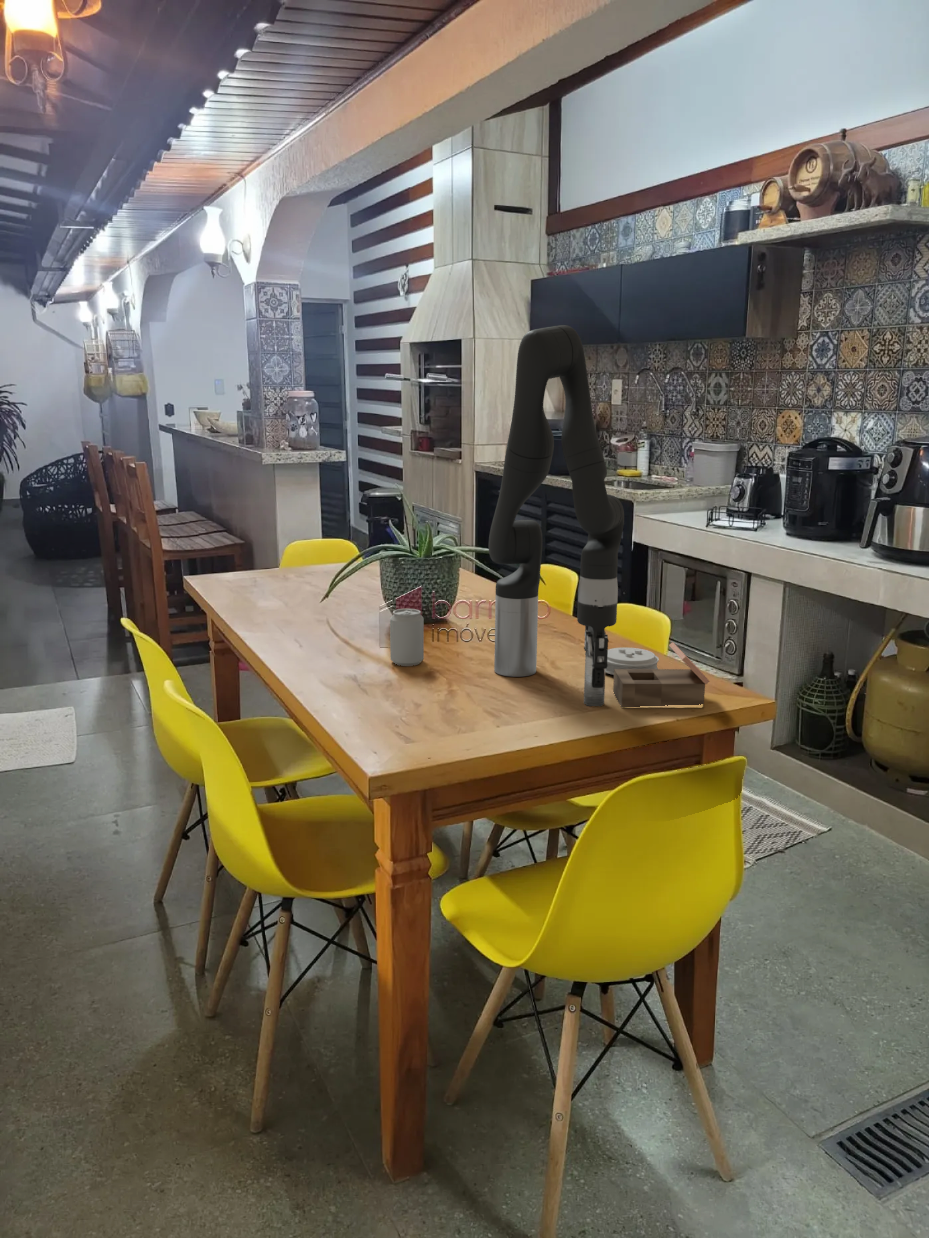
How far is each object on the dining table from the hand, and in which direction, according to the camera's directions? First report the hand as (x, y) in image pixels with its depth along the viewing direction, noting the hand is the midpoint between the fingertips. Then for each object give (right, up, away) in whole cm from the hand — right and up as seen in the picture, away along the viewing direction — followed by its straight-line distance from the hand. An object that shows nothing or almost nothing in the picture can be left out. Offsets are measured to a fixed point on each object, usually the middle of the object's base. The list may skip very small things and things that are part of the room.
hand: (594, 681), depth 189 cm
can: (-38, +2, +29) cm, 48 cm away
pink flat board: (+19, +3, +2) cm, 19 cm away
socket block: (+13, -4, +3) cm, 14 cm away
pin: (0, -4, +1) cm, 5 cm away
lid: (+11, 0, +23) cm, 25 cm away
